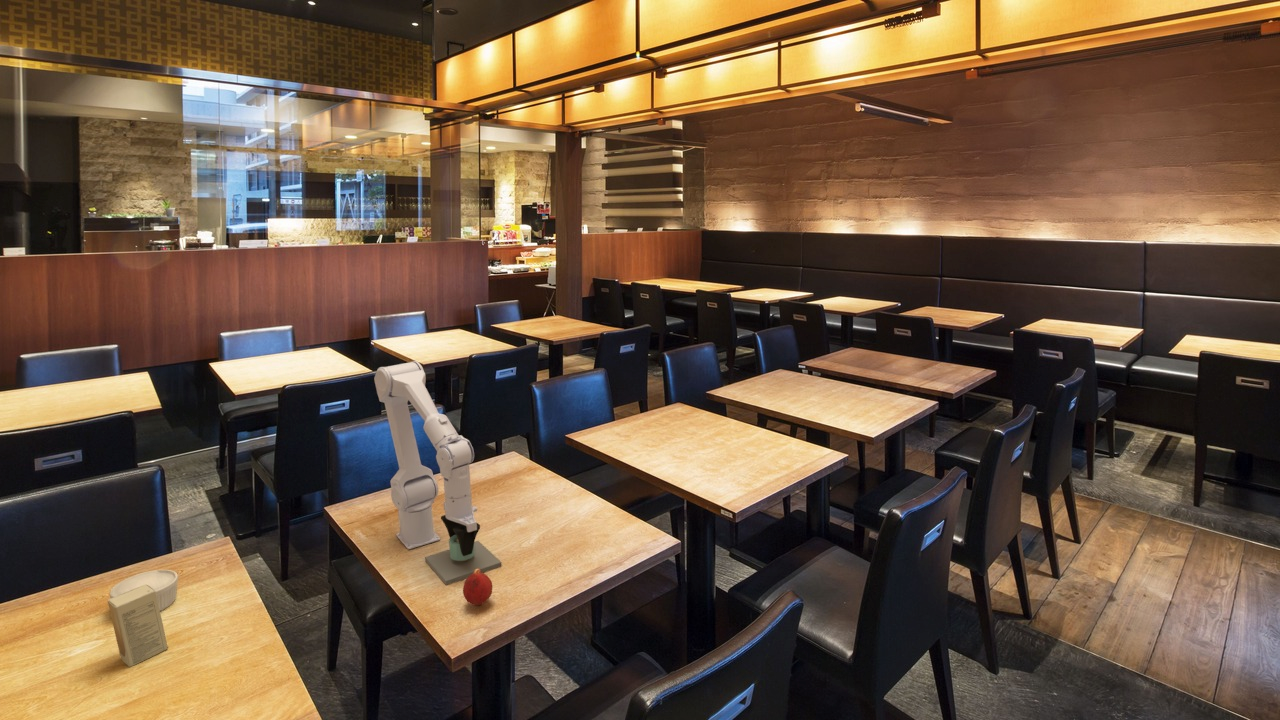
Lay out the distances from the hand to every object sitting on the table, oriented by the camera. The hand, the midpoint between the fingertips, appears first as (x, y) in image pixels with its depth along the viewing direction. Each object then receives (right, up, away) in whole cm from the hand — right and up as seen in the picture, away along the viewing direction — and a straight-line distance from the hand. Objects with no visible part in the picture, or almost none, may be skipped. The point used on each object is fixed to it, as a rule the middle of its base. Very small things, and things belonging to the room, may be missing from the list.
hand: (462, 549), depth 150 cm
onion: (+8, -7, -16) cm, 19 cm away
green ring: (0, -1, 0) cm, 1 cm away
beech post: (0, -4, +1) cm, 4 cm away
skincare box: (-50, -11, -30) cm, 59 cm away
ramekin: (-61, -8, -14) cm, 63 cm away
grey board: (0, -4, +1) cm, 4 cm away
